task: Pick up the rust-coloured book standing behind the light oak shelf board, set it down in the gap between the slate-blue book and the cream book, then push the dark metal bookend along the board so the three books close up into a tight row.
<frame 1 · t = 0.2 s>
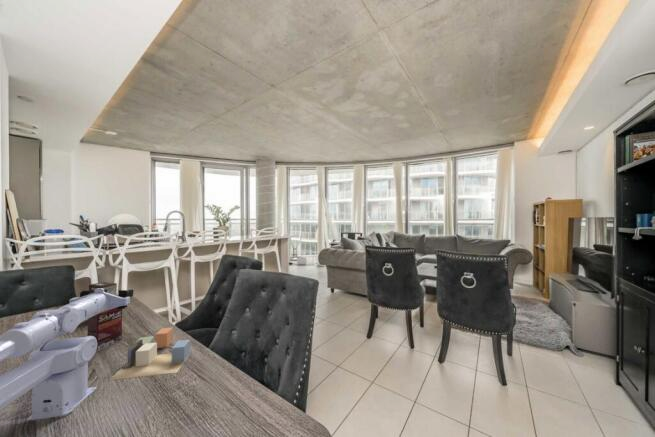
hand: (119, 292, 81), 22 cm above the table, tool horizontal, fingers open, 7 cm apart
flat book: (144, 345, 91), on the table
slate book: (181, 357, 80), point 1 cm above the table, touching shelf board
supplement box: (105, 346, 89), on the table
bookend: (132, 353, 78), point 3 cm above the table, slide at 0.0 cm
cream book: (146, 361, 78), point 1 cm above the table, touching shelf board
rust book: (164, 346, 89), on the table
coffee box: (102, 318, 116), on the table
shelf board: (154, 366, 76), on the table
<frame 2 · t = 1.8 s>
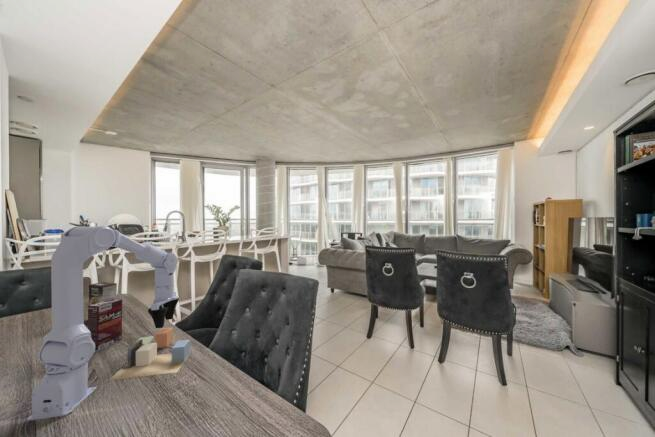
hand: (164, 323, 89), 8 cm above the table, tool pointing down, fingers open, 7 cm apart
nothing on the table moved.
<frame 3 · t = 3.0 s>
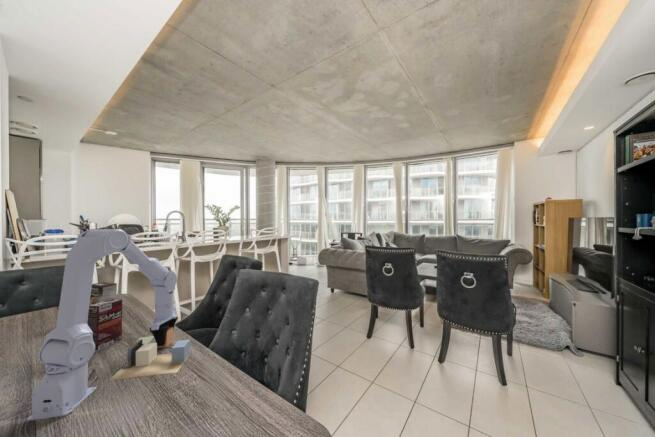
hand: (164, 341, 89), 1 cm above the table, tool pointing down, fingers closed on rust book, 5 cm apart
rust book: (164, 345, 89), on the table, touching gripper
everything else where it was.
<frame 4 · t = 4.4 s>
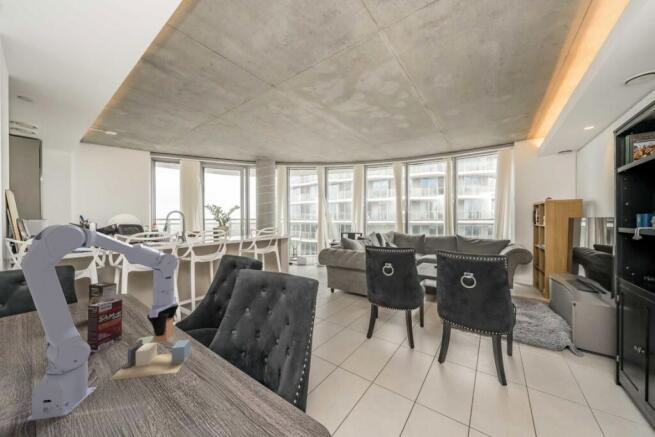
hand: (163, 331, 81), 9 cm above the table, tool pointing down, fingers closed on rust book, 5 cm apart
rust book: (163, 338, 81), point 7 cm above the table, touching gripper
everything else where it was.
when the fingers open (3 cm above the table, at t = 6.2 s): rust book stays where it is, resting on shelf board.
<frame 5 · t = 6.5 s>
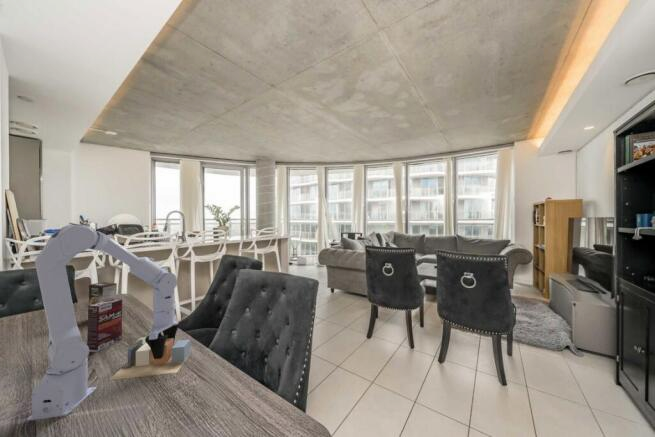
hand: (164, 351, 79), 3 cm above the table, tool pointing down, fingers open, 7 cm apart
rust book: (164, 359, 79), point 1 cm above the table, touching shelf board
everything else where it was.
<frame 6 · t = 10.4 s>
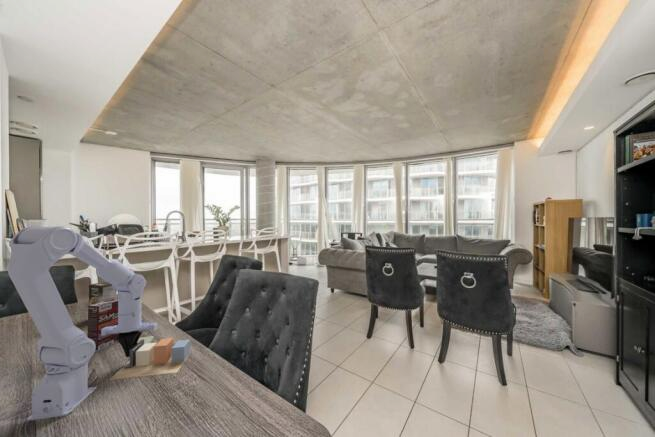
hand: (130, 355, 77), 3 cm above the table, tool pointing down, fingers closed
bookend: (134, 353, 78), point 3 cm above the table, slide at 0.5 cm, touching gripper
everything else where it was.
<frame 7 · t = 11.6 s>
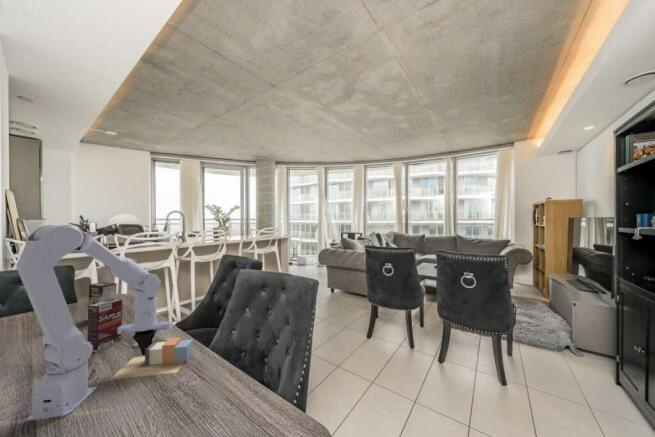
hand: (145, 353, 78), 3 cm above the table, tool pointing down, fingers closed
slate book: (184, 357, 80), point 1 cm above the table, touching rust book, shelf board
bookend: (149, 351, 78), point 3 cm above the table, slide at 4.7 cm, touching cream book, gripper
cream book: (159, 359, 79), point 1 cm above the table, touching bookend, rust book, shelf board
rust book: (171, 358, 80), point 1 cm above the table, touching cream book, shelf board, slate book
everything else where it was.
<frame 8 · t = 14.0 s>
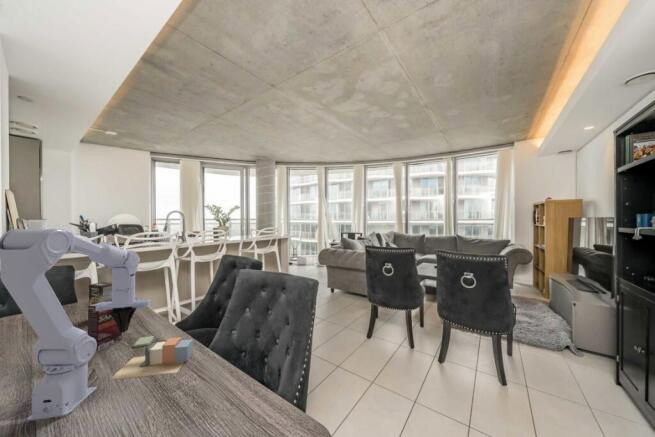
hand: (123, 331, 79), 10 cm above the table, tool pointing down, fingers closed
bookend: (149, 351, 78), point 3 cm above the table, slide at 4.7 cm, touching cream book
everything else where it was.
at the end: rust book inside the target area (0.8 cm from its centre), point 0.6 cm above the table; rust book 3.6 cm from the slate book (horizontally); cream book 3.6 cm from the rust book (horizontally) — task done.
